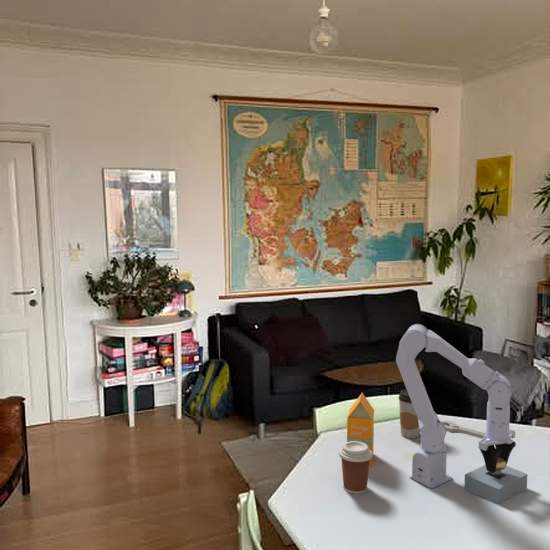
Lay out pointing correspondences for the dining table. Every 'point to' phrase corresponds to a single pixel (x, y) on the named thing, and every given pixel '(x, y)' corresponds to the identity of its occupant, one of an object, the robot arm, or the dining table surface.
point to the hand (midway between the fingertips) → (496, 468)
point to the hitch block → (495, 483)
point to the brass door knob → (499, 468)
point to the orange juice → (361, 423)
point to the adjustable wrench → (461, 429)
